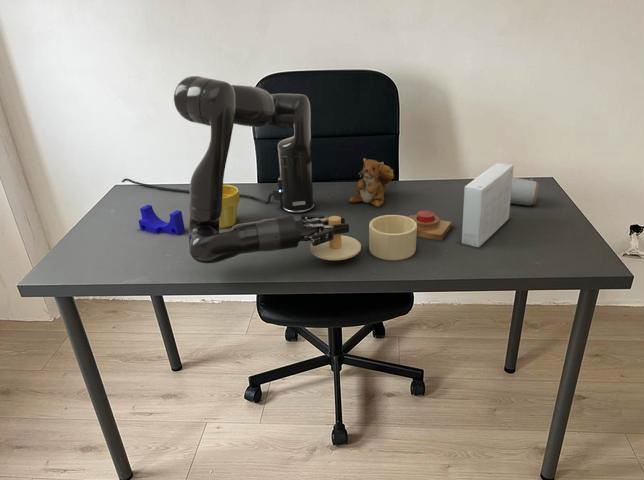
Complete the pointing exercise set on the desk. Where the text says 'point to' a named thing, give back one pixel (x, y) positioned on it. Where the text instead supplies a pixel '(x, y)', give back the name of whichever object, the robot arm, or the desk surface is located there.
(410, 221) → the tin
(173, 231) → the blue cradle stand
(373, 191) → the stuffed squirrel
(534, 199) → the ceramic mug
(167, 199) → the desk surface
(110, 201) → the desk surface
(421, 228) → the button block
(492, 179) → the skincare box
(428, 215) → the button
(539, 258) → the desk surface
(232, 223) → the flower pot
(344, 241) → the lid
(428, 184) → the desk surface
